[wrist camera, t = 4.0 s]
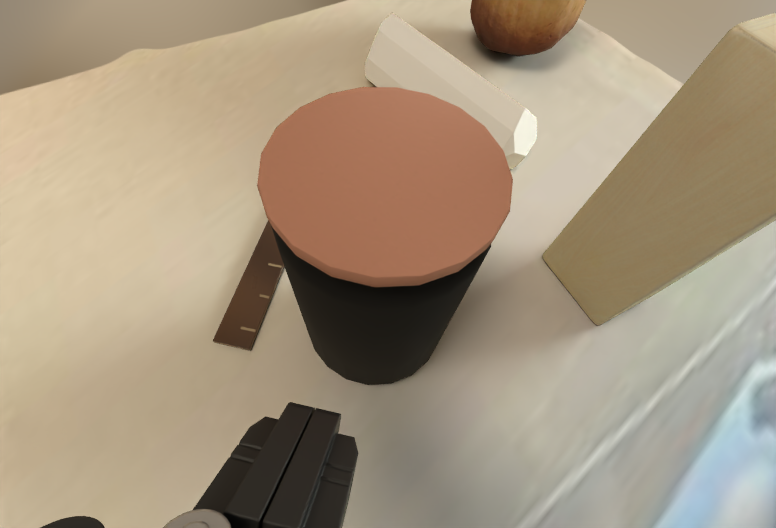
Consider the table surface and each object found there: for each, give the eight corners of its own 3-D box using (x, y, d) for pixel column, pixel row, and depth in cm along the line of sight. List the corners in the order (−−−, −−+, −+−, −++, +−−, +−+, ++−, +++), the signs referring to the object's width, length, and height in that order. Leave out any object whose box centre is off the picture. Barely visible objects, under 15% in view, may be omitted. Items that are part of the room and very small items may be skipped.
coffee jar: (455, 371, 30) (559, 250, 14) (320, 403, 28) (266, 305, 12) (419, 257, 35) (465, 75, 19) (302, 278, 33) (248, 96, 17)
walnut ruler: (250, 350, 30) (249, 349, 29) (214, 342, 30) (212, 340, 29) (309, 204, 37) (308, 201, 37) (280, 198, 37) (279, 195, 37)
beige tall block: (657, 296, 34) (994, 86, 16) (597, 329, 32) (904, 133, 14) (597, 230, 38) (818, -5, 19) (539, 257, 36) (726, 22, 17)
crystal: (341, 47, 44) (492, 172, 35) (384, -2, 43) (549, 114, 34) (366, 86, 51) (497, 198, 42) (403, 44, 50) (545, 151, 41)
